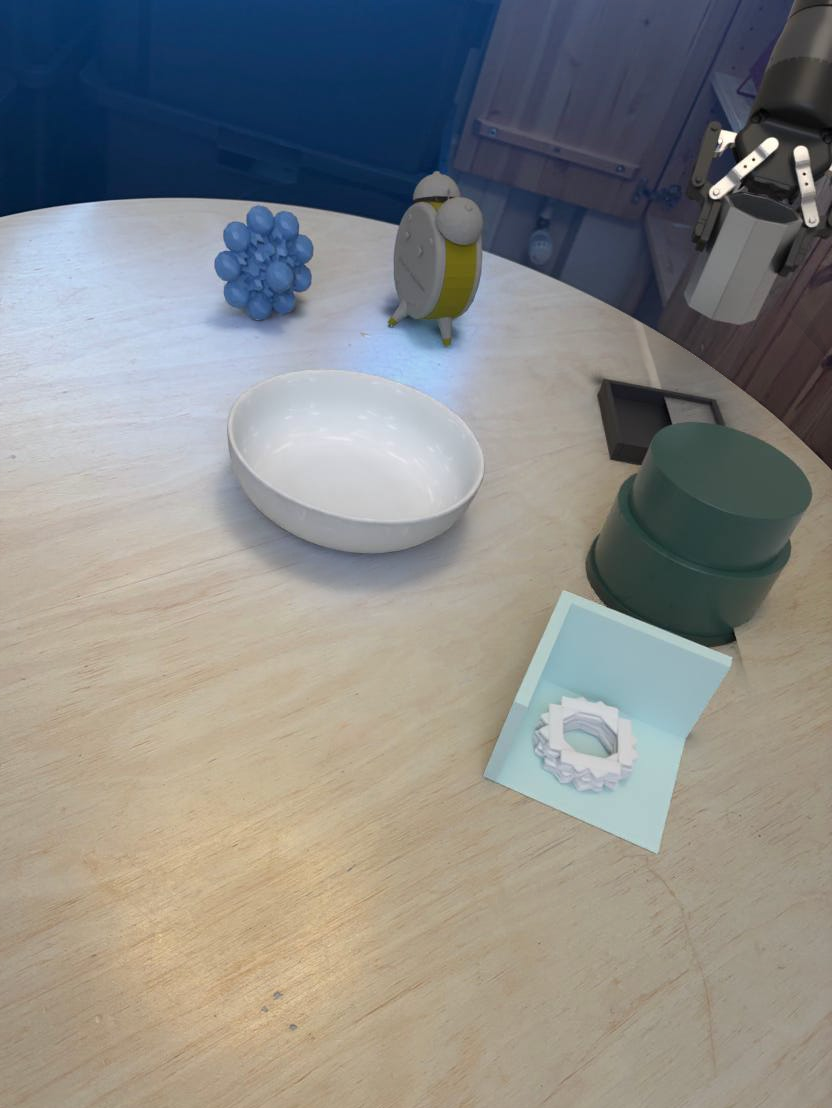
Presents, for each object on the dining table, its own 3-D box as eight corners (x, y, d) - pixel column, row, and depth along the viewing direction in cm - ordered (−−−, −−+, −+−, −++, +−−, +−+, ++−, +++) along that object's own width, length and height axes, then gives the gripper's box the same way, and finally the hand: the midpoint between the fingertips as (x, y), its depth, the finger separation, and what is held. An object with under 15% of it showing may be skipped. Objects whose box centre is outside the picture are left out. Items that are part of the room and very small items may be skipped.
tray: (708, 415, 105) (715, 399, 103) (731, 481, 96) (740, 464, 95) (597, 394, 104) (603, 378, 103) (610, 459, 95) (617, 442, 94)
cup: (745, 297, 93) (790, 201, 86) (760, 329, 88) (809, 230, 82) (680, 284, 92) (720, 186, 86) (691, 315, 88) (735, 215, 82)
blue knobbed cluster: (231, 347, 99) (241, 229, 90) (199, 316, 102) (206, 199, 94) (327, 330, 104) (345, 217, 96) (294, 301, 108) (308, 190, 100)
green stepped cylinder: (735, 546, 88) (799, 432, 80) (773, 660, 78) (851, 544, 69) (578, 517, 87) (625, 400, 79) (595, 629, 77) (651, 508, 69)
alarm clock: (463, 352, 106) (500, 212, 96) (406, 353, 104) (437, 210, 93) (423, 300, 113) (454, 165, 103) (369, 300, 111) (394, 162, 101)
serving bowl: (278, 610, 73) (289, 538, 68) (187, 449, 85) (191, 379, 80) (511, 564, 81) (535, 497, 76) (397, 424, 94) (412, 358, 89)
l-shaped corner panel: (482, 776, 65) (513, 701, 59) (531, 664, 73) (563, 589, 68) (657, 854, 62) (706, 783, 57) (687, 729, 71) (732, 657, 66)
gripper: (738, 33, 83) (671, 216, 83) (908, 78, 81) (840, 266, 81) (716, 87, 90) (654, 255, 90) (871, 130, 89) (809, 301, 89)
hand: (742, 259), depth 86 cm, fingers closed on cup, 7 cm apart
